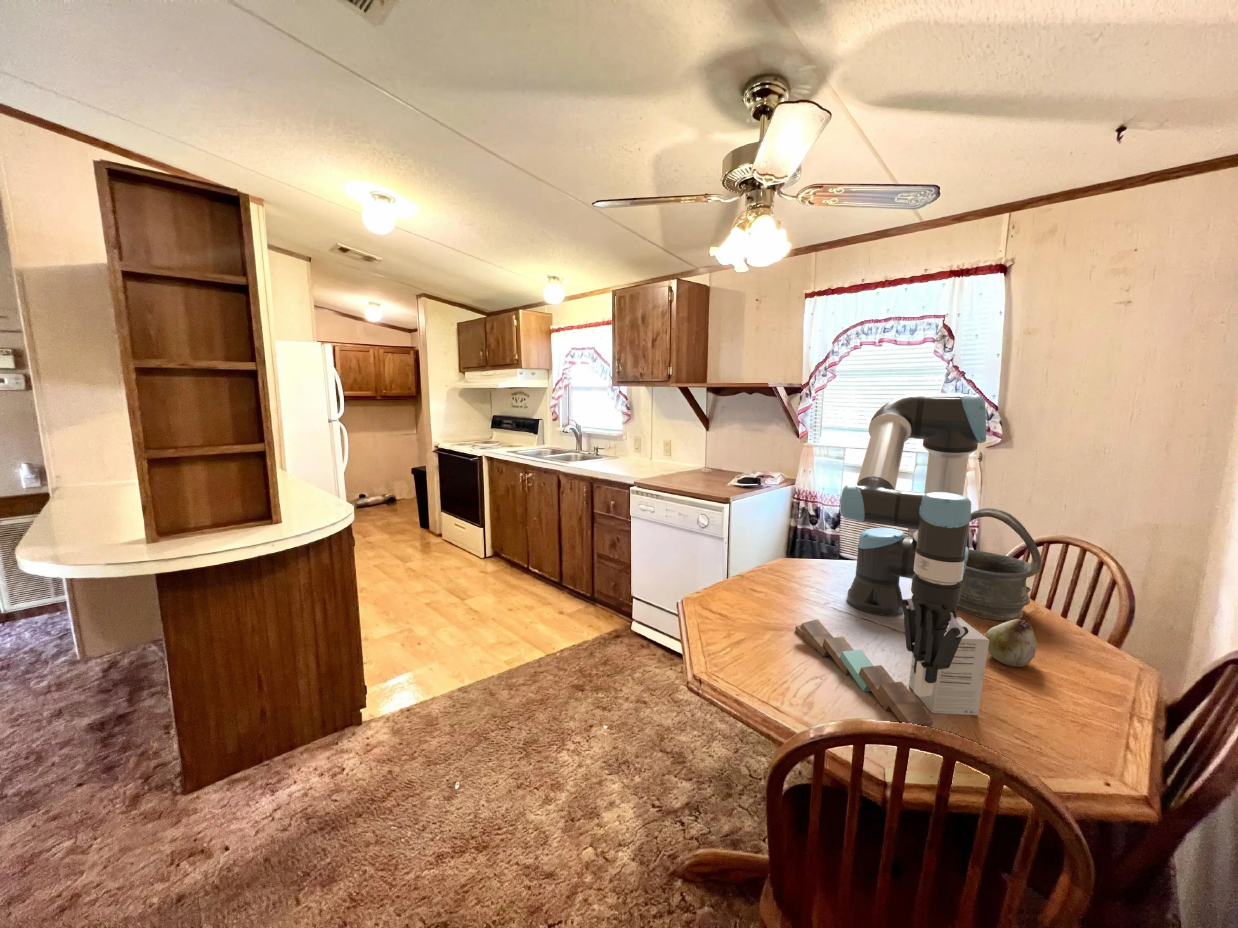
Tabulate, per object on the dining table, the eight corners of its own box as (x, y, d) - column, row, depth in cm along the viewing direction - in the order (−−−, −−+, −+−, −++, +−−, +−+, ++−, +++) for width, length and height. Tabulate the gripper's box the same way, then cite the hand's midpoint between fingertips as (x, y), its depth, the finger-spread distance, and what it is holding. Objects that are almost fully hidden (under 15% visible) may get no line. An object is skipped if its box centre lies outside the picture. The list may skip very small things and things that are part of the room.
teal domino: (883, 689, 105) (858, 655, 112) (886, 682, 104) (861, 649, 111) (863, 691, 104) (839, 657, 111) (865, 685, 103) (842, 651, 111)
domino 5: (930, 728, 93) (898, 687, 100) (933, 721, 92) (901, 681, 99) (907, 731, 92) (877, 690, 99) (911, 725, 91) (880, 684, 99)
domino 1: (832, 648, 121) (811, 630, 130) (833, 641, 121) (812, 624, 130) (814, 650, 120) (795, 632, 129) (815, 643, 120) (795, 625, 129)
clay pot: (966, 586, 159) (978, 498, 154) (1049, 618, 137) (1066, 517, 132) (919, 595, 151) (930, 503, 146) (999, 631, 129) (1015, 524, 124)
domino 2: (839, 652, 118) (815, 624, 126) (841, 646, 117) (817, 619, 125) (823, 656, 117) (799, 628, 124) (825, 651, 116) (802, 623, 123)
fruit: (1019, 677, 109) (1027, 628, 107) (973, 656, 117) (980, 611, 115) (1041, 665, 114) (1049, 618, 112) (995, 646, 122) (1002, 602, 120)
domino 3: (864, 672, 111) (840, 642, 119) (866, 666, 110) (842, 636, 118) (845, 674, 110) (822, 644, 118) (847, 668, 109) (824, 638, 117)
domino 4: (906, 708, 98) (878, 671, 106) (910, 701, 98) (881, 664, 105) (885, 710, 98) (858, 673, 105) (888, 704, 97) (861, 667, 104)
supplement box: (907, 684, 106) (915, 614, 103) (950, 686, 105) (960, 615, 103) (932, 714, 97) (941, 637, 94) (979, 716, 96) (991, 639, 93)
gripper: (892, 565, 93) (880, 675, 97) (950, 594, 81) (934, 719, 84) (924, 562, 95) (912, 671, 99) (987, 590, 82) (969, 713, 86)
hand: (922, 693), depth 91 cm, fingers closed
